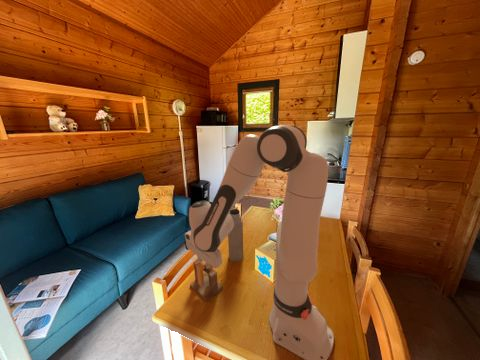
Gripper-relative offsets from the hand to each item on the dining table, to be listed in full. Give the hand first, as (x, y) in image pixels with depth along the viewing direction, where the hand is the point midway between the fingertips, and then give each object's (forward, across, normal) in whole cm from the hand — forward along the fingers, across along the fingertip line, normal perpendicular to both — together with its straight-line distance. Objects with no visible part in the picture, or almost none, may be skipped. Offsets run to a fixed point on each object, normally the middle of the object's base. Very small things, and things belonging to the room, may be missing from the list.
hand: (204, 265), depth 87 cm
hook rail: (+12, 0, 0) cm, 12 cm away
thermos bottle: (+12, +4, -24) cm, 27 cm away
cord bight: (+8, 0, 0) cm, 8 cm away
